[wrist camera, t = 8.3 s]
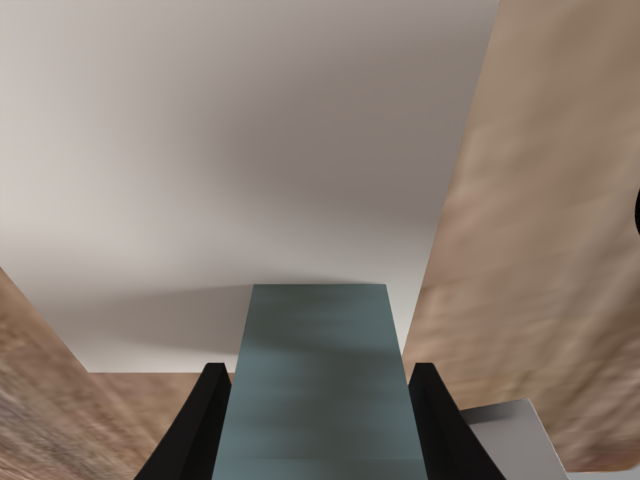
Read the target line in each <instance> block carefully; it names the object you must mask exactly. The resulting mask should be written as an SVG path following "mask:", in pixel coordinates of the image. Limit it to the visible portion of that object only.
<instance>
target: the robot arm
mask: <svg viewBox="0 0 640 480" xmlns="http://www.w3.org/2000/svg"><path fill="white" fill-rule="evenodd" d="M231 388H232V384H231V381H230V378H229V375H228V372H227V369H226V366H225V363H207V364H206V365H205V367H204V369H203V371H202V373H201V375H200V376H199V378H198V380H197V382H196V384H195V386H194V387H193V389H192V391H191V393H190V394H189V396H188V398H187V400H186V401H185V403H184V405H183V406H182V408H181V410H180V411H179V413H178V415H177V416H176V418H175V419H174V421H173V423H172V424H171V426H170V427H169V429H168V431H167V432H166V434H165V435H164V437H163V438H162V439H161V441H160V442H159V444H158V445H157V447H156V448H155V450H154V451H153V453H152V454H151V456H150V457H149V459H148V460H147V461H146V463H145V464H144V466H143V467H142V468H141V470H140V471H139V472H138V474H137V475H136V476H135V478H134V479H133V480H212V476H213V471H214V467H215V462H216V457H217V453H218V448H219V443H220V439H221V434H222V429H223V425H224V420H225V416H226V411H227V406H228V402H229V397H230V392H231ZM408 389H409V394H410V399H411V403H412V408H413V413H414V417H415V422H416V427H417V431H418V436H419V441H420V445H421V450H422V455H423V459H424V464H425V469H426V473H427V478H428V480H507V479H506V478H505V477H504V475H503V474H502V473H501V471H500V470H499V468H498V467H497V466H496V464H495V463H494V462H493V460H492V459H491V457H490V456H489V454H488V453H487V452H486V450H485V449H484V447H483V446H482V444H481V443H480V441H479V440H478V438H477V437H476V435H475V434H474V432H473V431H472V429H471V428H470V426H469V424H468V423H467V421H466V420H465V418H464V416H463V415H462V413H461V412H460V410H459V408H458V407H457V405H456V403H455V402H454V400H453V398H452V396H451V395H450V393H449V391H448V389H447V388H446V386H445V384H444V382H443V380H442V378H441V377H440V375H439V373H438V371H437V369H436V367H435V365H434V364H433V363H415V366H414V369H413V372H412V375H411V378H410V381H409V384H408Z"/></svg>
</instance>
